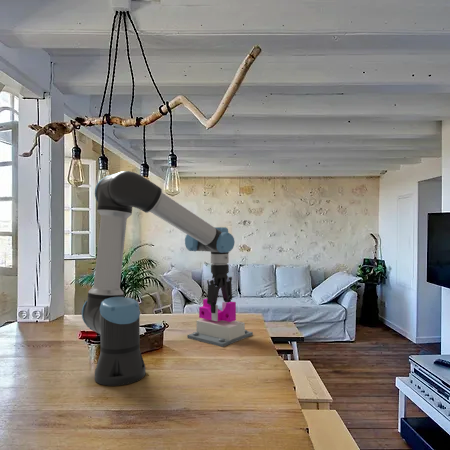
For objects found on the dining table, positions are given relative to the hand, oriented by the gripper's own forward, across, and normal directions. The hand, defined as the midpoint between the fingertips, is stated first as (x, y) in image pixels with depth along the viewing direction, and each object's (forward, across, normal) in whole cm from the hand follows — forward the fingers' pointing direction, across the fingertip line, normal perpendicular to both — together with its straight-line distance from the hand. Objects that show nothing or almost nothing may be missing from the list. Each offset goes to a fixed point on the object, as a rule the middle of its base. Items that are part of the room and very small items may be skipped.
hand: (220, 318), depth 156 cm
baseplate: (+7, 0, 0) cm, 7 cm away
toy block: (0, 0, +2) cm, 2 cm away
